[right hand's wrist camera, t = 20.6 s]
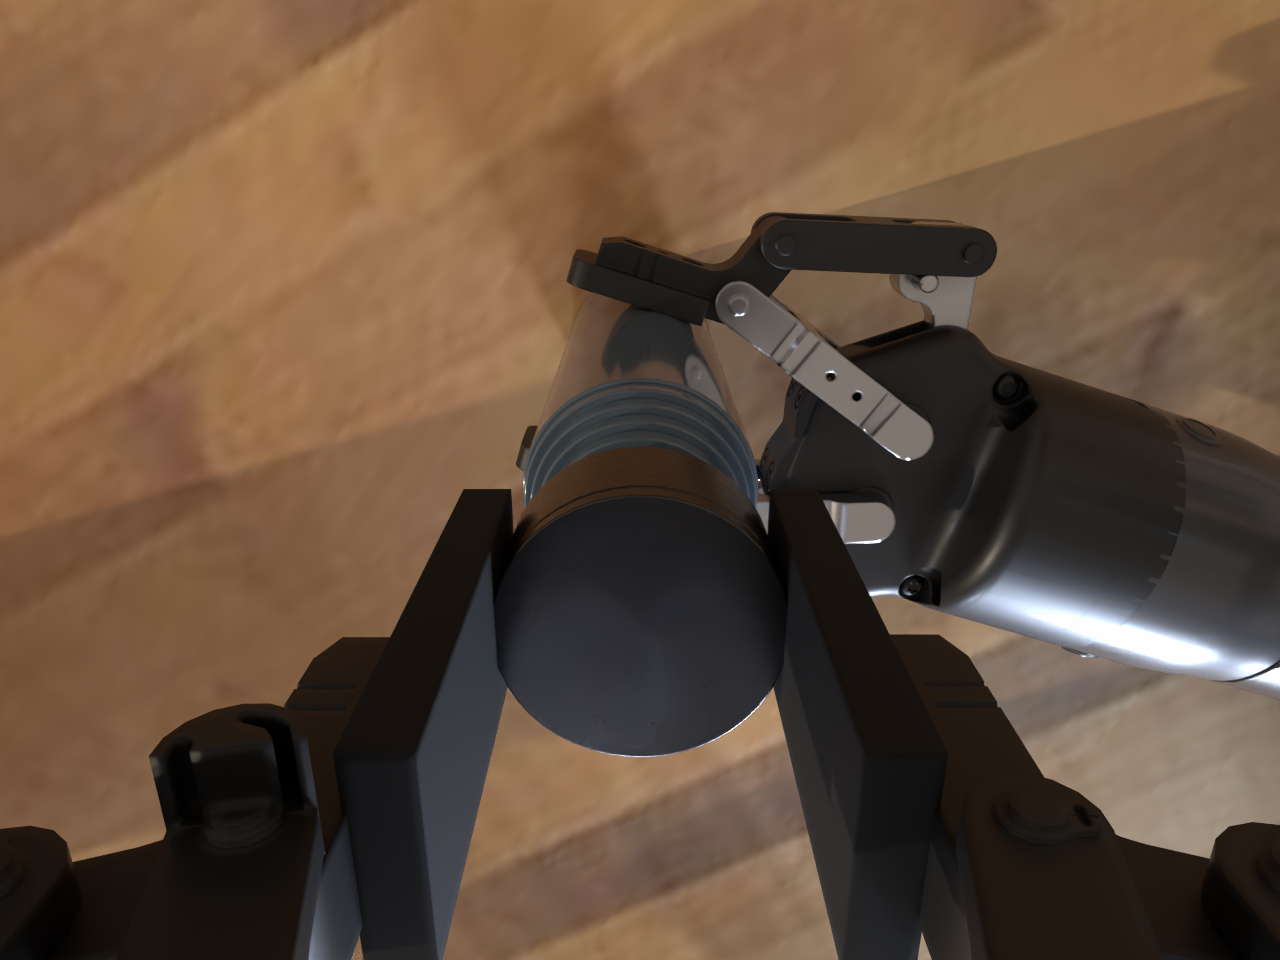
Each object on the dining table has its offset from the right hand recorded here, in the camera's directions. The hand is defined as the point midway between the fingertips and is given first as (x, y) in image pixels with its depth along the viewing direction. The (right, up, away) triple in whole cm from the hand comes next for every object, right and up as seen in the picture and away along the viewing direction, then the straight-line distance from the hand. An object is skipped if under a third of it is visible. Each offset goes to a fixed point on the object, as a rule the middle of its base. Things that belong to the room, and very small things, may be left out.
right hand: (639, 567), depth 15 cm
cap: (0, -1, -2) cm, 2 cm away
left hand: (-2, +5, +10) cm, 12 cm away
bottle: (0, +6, +16) cm, 17 cm away
